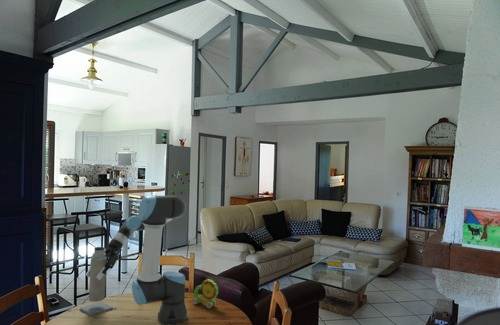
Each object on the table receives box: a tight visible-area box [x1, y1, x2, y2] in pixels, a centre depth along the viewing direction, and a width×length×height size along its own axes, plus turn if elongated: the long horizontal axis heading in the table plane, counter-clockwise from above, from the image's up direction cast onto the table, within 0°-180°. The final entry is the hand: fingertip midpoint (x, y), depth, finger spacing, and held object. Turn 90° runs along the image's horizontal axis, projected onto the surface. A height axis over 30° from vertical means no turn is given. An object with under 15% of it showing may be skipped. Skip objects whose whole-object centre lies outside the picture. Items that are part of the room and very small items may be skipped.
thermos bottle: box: [88, 246, 108, 303], centre depth 186 cm, size 8×8×28 cm
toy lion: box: [191, 278, 219, 310], centre depth 196 cm, size 16×5×15 cm, turn 61°
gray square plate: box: [79, 301, 114, 317], centre depth 185 cm, size 12×12×1 cm
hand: (92, 277), depth 183 cm, fingers closed on thermos bottle, 8 cm apart
